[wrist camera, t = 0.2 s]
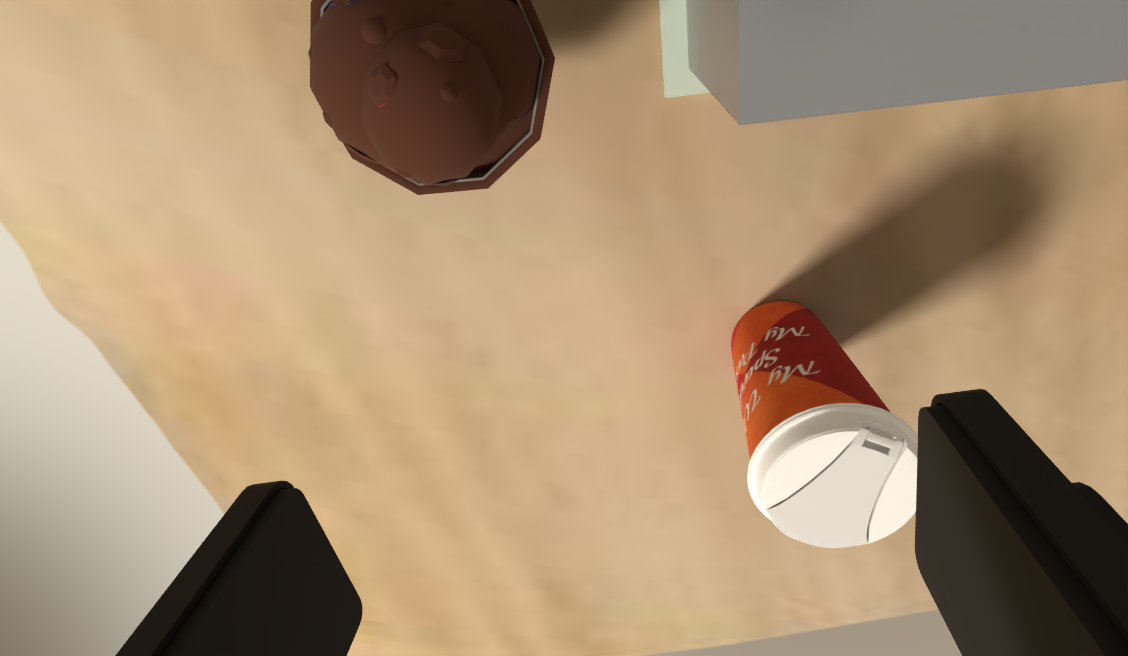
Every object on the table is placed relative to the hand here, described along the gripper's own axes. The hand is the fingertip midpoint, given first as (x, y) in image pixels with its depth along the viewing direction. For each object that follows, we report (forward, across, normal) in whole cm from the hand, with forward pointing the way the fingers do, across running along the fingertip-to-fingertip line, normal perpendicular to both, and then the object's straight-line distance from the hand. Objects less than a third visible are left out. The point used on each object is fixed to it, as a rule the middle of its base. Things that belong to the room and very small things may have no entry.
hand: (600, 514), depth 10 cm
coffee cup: (+31, -8, +16) cm, 36 cm away
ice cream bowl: (+32, +7, -6) cm, 33 cm away
